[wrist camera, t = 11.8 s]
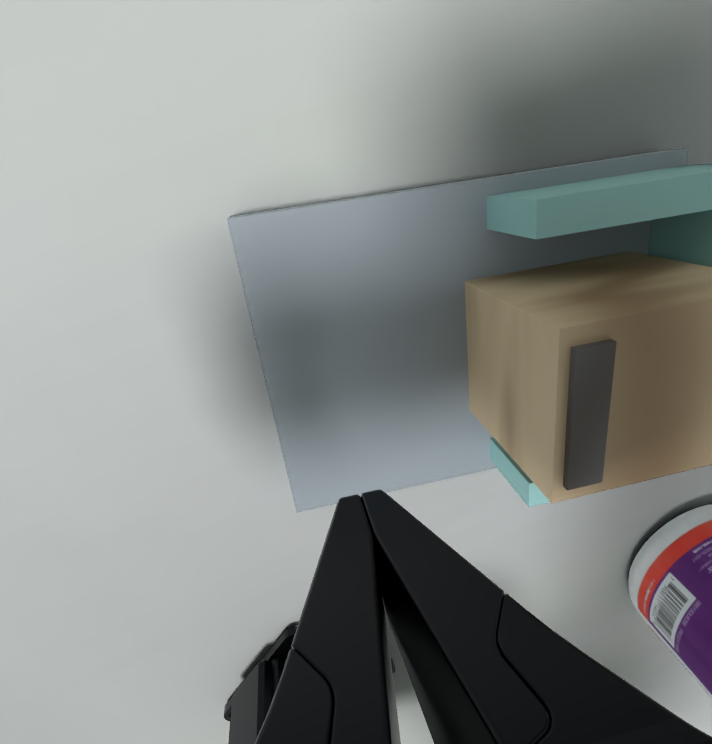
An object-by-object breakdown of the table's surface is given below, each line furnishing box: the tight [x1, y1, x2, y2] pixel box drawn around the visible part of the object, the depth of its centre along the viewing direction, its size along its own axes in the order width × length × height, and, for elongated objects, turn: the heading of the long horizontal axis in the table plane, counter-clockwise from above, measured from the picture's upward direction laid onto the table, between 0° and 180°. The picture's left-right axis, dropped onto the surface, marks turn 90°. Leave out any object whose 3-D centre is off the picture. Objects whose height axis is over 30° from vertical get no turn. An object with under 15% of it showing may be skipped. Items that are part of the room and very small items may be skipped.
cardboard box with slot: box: [465, 251, 712, 503], centre depth 14 cm, size 6×5×6 cm
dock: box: [227, 149, 712, 512], centre depth 15 cm, size 15×11×4 cm
